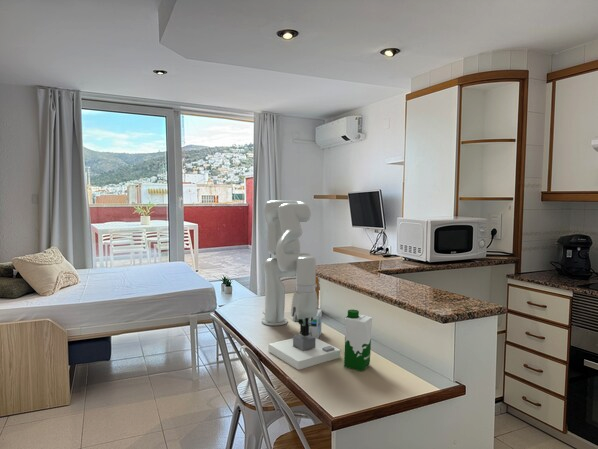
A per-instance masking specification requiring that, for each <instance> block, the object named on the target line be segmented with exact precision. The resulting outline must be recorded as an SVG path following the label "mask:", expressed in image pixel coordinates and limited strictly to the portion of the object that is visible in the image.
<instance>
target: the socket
mask: <svg viewBox="0 0 598 449" xmlns="http://www.w3.org/2000/svg"><path fill="white" fill-rule="evenodd" d="M267 352H269V353H270V354H272V355H273V356H275V357H277V358H279V359H280V360H282V361H283V362H285V363H286V364H288V365H289V366H291V367H293V368H294V369H297V370H303V369H306V368H309V367H312V366H313V367H314V366H316V365H319V364H323V363H326V362H330V361H334V360H336V359H339V358H341V352H342V351H341V349H339V348H338V347H336V346H334V345H332V344H329V343H328V342H325V341H324V340H321V339H317V338H316V340H315V348H313V349H310V350H308V351H306V350H305V351H302V350H300V349H298V348H295V347H294V346H293V337H292V338H287V339H285V340H284V339H283V340H279V341H276V342H275V341H274V342H270V343H268V350H267Z"/></svg>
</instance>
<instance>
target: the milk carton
mask: <svg viewBox="0 0 598 449" xmlns="http://www.w3.org/2000/svg"><path fill="white" fill-rule="evenodd" d="M359 313H360V310H357V309H348V310H347V316H345V317H344V328H345V329H344V331H345V332H344V355H343V356H344V358H343V367H344V368H348V369H351V370H356V371H359V372H364V371H365V369H366V368H368V367H369V366H370V363H371V362H370V361H371V351H372V350H371V349H372V348H371V347H372V346H371V345H372V328H373V327H372V326H373V323H372V322H373V317H372V316H368V315H365V314H359Z"/></svg>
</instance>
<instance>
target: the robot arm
mask: <svg viewBox="0 0 598 449" xmlns="http://www.w3.org/2000/svg"><path fill="white" fill-rule="evenodd" d="M263 211H264V217H265V221H266V224H267V242H266V243H267V251H268V254H270V255H273V256H276V257H269V258H267V259H266V260H265V261H264V264H263V272H264V281H265V282H264V284H265V285H264V286H265V287H264V288H265V289H264V290H265V294H264V310H263V311H262V314H263V315H264V316H263V318H261V323H262V324H263V325H265V326H278V327H279V326H283V325H286V324H287V323H288V319H287V317H285V308H286V307H285V306H286V304H285V302H286V301H285V298H286V286H285V283H284V282H283V281H282V280H281V278H291V277H295V288H296V292H295V291H294V292H293V294H292V299H291V306H290V307H291V309H290V315H291V317H293V318H292V322H294V323H298V325H300V326H299V327H300V328H299V330H300V334H301V335H303V336H308V335H309V325H310V324H311V321H312V320H313V319H315V318H316V317H317V316H316V315H317V313H318V309H319V306H318V300H317V293H316V291H315V287H317V284H315V280H316V271H317V269H316V268H317V260H316V258H315V257H314V256H312V255H311V254H310V253H309V252H308V253H307V252H301V242H300V240H299V238H301V236H302V235H303V228H302V225H301V223H307V222H309V221H310V219H311V217H312V216H311V215H312V214H311V209H310V206H309V205H308V204H307V203H306V202H304V201H300V200H288V199H287V200H286V199H285V200H284V199H282V200H281V199H277V200H276V199H273V200H272V199H271V200H268V201H267V202H266V203H265V204H264V209H263Z"/></svg>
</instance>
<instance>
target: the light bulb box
mask: <svg viewBox="0 0 598 449" xmlns="http://www.w3.org/2000/svg"><path fill="white" fill-rule="evenodd" d="M322 313H323V309H319V308H318V313H317V315H316V316H317V317H316V318H315V319H313V320H312V321H311V324H310V325H309V335H311V336H313V337H315V338H317V339H319V338H320V336H321V335H322V325H323V324H322V321H323V320H322V319H323V318H322V316H323V314H322ZM319 340H320V339H319Z"/></svg>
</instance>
